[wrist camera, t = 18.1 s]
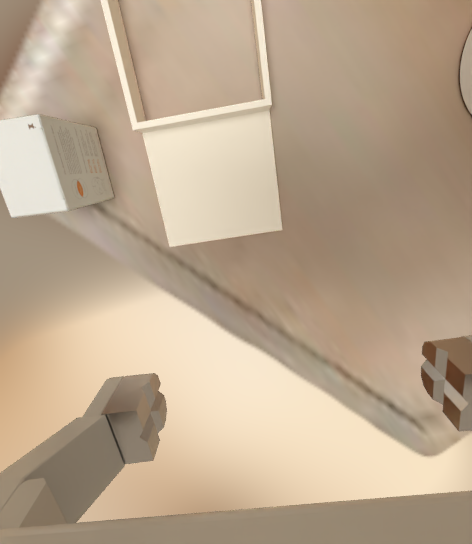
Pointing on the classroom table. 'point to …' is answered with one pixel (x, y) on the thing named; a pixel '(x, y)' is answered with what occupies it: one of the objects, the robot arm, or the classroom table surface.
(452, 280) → the classroom table surface
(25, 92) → the classroom table surface
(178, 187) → the box
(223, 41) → the classroom table surface
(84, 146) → the small box
